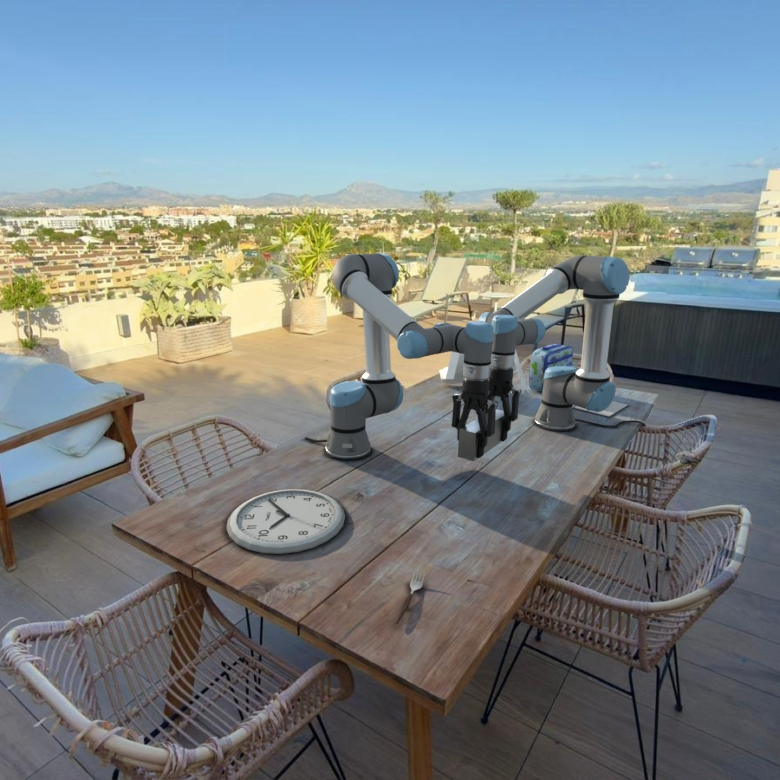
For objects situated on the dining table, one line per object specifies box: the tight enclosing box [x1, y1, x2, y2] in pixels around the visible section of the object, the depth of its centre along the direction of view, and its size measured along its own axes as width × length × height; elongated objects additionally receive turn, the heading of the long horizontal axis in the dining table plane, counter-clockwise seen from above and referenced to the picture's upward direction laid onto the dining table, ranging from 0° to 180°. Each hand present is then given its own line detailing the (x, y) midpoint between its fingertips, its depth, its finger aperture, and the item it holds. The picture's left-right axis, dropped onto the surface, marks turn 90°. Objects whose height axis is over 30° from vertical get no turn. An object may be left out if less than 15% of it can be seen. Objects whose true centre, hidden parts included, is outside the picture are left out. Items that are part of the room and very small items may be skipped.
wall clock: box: [226, 488, 346, 555], centre depth 135 cm, size 30×2×30 cm
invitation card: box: [573, 400, 629, 418], centre depth 226 cm, size 21×1×15 cm
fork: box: [396, 568, 427, 625], centre depth 107 cm, size 3×16×2 cm, turn 160°
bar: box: [457, 408, 509, 462], centre depth 158 cm, size 22×5×9 cm, turn 143°
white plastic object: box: [438, 310, 531, 397], centre depth 245 cm, size 37×45×31 cm
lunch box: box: [528, 343, 574, 392], centre depth 248 cm, size 26×11×21 cm, turn 134°
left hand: (471, 453), depth 153 cm, fingers closed on bar, 5 cm apart
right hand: (495, 437), depth 165 cm, fingers closed on bar, 5 cm apart
